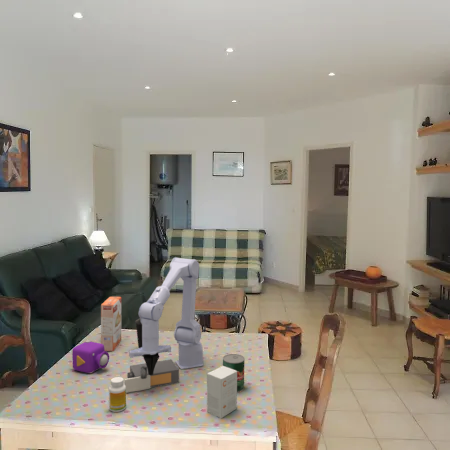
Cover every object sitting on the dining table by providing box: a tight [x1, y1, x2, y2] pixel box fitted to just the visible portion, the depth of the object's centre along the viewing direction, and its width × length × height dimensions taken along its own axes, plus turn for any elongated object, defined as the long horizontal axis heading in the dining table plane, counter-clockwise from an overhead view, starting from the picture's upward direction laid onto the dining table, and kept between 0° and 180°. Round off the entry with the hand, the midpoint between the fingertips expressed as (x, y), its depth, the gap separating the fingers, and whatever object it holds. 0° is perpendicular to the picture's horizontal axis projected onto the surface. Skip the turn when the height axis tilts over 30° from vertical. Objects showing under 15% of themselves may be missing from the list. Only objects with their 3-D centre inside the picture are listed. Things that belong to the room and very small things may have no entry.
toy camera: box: [71, 339, 110, 374], centre depth 171 cm, size 11×14×10 cm
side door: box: [123, 367, 151, 394], centre depth 153 cm, size 9×2×8 cm, turn 113°
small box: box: [206, 365, 238, 419], centre depth 141 cm, size 8×6×13 cm
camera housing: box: [126, 359, 180, 389], centre depth 162 cm, size 18×10×5 cm, turn 113°
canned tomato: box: [222, 353, 246, 393], centre depth 157 cm, size 8×8×11 cm
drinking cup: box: [134, 318, 142, 349], centre depth 189 cm, size 8×8×20 cm
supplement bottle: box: [108, 376, 127, 413], centre depth 142 cm, size 5×5×10 cm
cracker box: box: [100, 296, 122, 352], centre depth 195 cm, size 14×6×21 cm, turn 179°
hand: (150, 373), depth 155 cm, fingers closed
